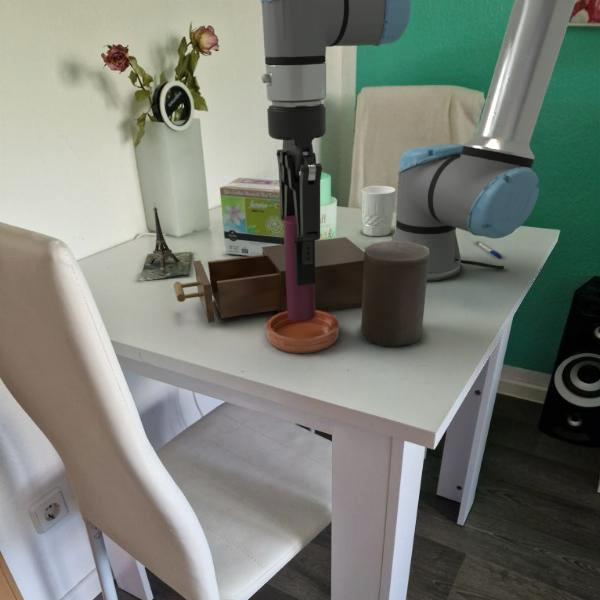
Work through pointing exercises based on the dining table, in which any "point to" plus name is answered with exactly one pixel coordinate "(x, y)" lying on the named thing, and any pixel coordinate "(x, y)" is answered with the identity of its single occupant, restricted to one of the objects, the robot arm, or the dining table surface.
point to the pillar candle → (394, 292)
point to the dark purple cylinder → (297, 296)
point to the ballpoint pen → (490, 250)
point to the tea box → (251, 215)
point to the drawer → (235, 286)
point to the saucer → (302, 332)
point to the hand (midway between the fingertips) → (300, 277)
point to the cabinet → (327, 273)
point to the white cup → (377, 210)
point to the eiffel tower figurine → (164, 259)
